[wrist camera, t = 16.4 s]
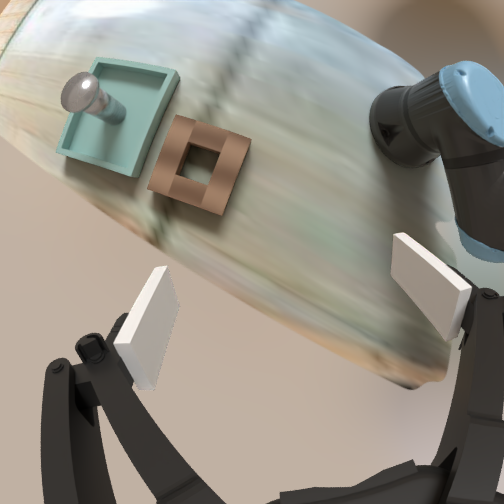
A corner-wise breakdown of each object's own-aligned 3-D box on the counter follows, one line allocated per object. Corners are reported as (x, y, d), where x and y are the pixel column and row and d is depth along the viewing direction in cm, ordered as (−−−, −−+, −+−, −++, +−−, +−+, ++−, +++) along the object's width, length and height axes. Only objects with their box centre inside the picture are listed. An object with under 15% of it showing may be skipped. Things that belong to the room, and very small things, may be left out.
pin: (109, 96, 38) (72, 70, 26) (136, 102, 39) (103, 74, 26) (96, 126, 39) (54, 108, 26) (122, 133, 40) (84, 114, 27)
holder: (179, 119, 41) (175, 114, 38) (250, 142, 42) (251, 139, 39) (152, 189, 43) (146, 189, 40) (222, 214, 44) (221, 215, 41)
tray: (104, 64, 38) (96, 56, 34) (180, 78, 39) (176, 69, 36) (66, 154, 41) (55, 152, 37) (138, 177, 42) (130, 176, 39)
